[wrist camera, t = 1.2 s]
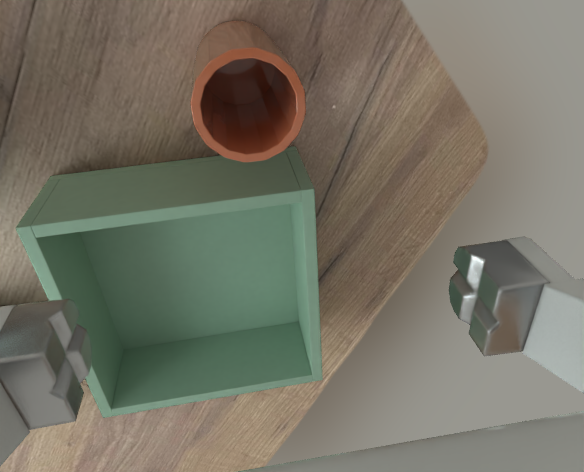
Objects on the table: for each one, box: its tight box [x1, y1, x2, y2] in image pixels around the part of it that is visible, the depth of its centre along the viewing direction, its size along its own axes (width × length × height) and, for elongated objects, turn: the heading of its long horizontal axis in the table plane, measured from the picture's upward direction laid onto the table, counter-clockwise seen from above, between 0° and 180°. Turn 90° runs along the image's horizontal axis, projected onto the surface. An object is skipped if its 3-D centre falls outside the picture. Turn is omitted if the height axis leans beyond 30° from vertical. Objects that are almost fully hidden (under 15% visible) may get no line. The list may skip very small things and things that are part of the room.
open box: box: [16, 146, 322, 418], centre depth 33 cm, size 17×17×7 cm
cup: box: [190, 21, 306, 162], centre depth 25 cm, size 5×5×9 cm
